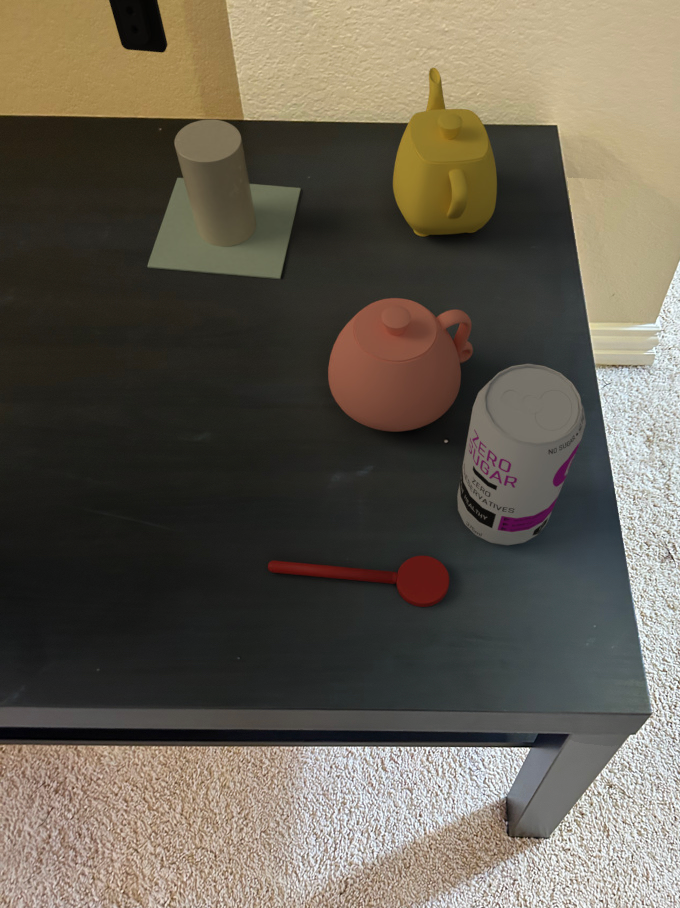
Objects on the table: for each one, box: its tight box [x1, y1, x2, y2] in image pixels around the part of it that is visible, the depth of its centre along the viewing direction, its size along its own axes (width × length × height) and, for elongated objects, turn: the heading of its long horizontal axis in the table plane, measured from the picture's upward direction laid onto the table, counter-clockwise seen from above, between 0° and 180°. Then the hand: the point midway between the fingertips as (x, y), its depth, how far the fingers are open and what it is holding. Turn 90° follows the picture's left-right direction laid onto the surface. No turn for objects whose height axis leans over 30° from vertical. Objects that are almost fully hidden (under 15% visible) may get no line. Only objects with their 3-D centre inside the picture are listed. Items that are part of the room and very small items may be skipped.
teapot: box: [392, 67, 498, 237], centre depth 79 cm, size 18×11×11 cm, turn 8°
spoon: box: [267, 555, 450, 608], centre depth 63 cm, size 15×4×1 cm, turn 85°
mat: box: [146, 177, 302, 280], centre depth 82 cm, size 14×14×1 cm
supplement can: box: [456, 363, 587, 546], centre depth 60 cm, size 8×8×15 cm
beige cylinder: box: [173, 119, 256, 246], centre depth 77 cm, size 6×6×10 cm
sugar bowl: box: [327, 297, 474, 433], centre depth 68 cm, size 12×14×10 cm
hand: (161, 11), depth 56 cm, fingers open, 9 cm apart
